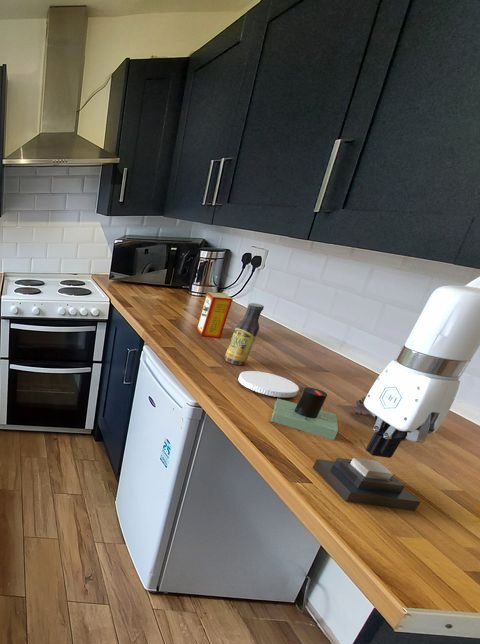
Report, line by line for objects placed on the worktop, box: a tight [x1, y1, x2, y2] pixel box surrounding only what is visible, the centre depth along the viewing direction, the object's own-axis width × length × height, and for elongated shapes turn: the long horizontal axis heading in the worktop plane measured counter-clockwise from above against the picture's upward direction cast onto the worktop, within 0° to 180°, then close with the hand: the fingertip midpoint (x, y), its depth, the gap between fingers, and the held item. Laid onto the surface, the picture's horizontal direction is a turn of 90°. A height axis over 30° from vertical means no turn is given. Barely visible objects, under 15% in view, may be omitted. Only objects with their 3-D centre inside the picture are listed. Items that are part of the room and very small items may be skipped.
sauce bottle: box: [224, 302, 265, 366], centre depth 129 cm, size 6×6×20 cm
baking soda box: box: [195, 291, 234, 339], centre depth 157 cm, size 10×6×16 cm
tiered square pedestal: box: [312, 457, 421, 512], centre depth 76 cm, size 11×10×4 cm
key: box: [350, 457, 394, 480], centre depth 75 cm, size 4×4×2 cm
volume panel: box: [270, 398, 339, 441], centre depth 98 cm, size 12×10×3 cm
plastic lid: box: [238, 370, 300, 399], centre depth 114 cm, size 14×14×2 cm
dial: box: [295, 386, 328, 418], centre depth 96 cm, size 4×4×6 cm
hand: (377, 453), depth 73 cm, fingers closed
